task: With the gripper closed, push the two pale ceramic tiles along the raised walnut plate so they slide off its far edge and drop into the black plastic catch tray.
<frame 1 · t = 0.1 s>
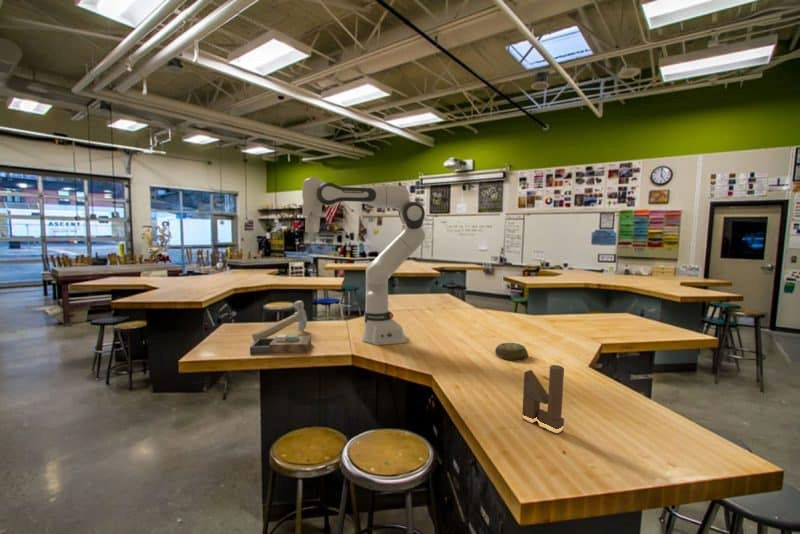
hand: (312, 242, 178), 48 cm above the workbench, fingers open, 8 cm apart
brown letter n: (542, 425, 105), on the workbench
catch tray: (263, 349, 168), on the workbench
tile rear: (293, 340, 169), point 4 cm above the workbench, touching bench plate
tile front: (281, 340, 169), point 4 cm above the workbench, touching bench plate
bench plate: (291, 348, 169), on the workbench
weight: (511, 357, 163), on the workbench
hammer: (281, 336, 189), on the workbench
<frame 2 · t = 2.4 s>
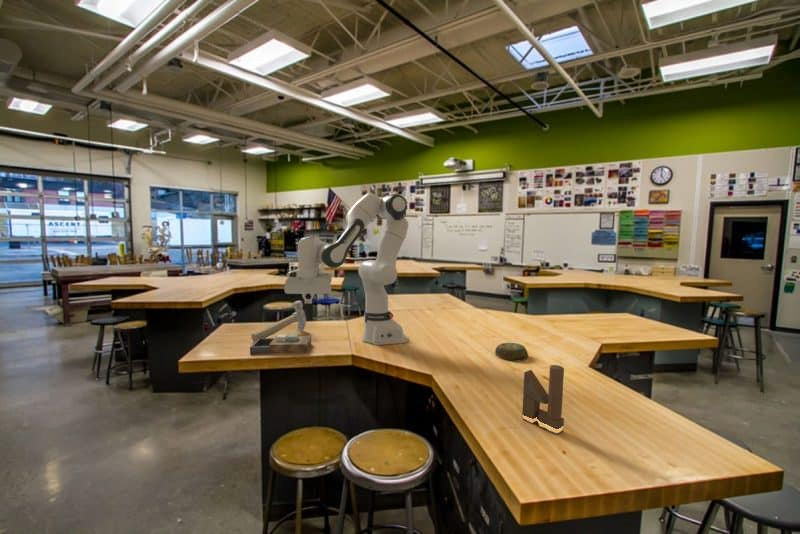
hand: (308, 303, 168), 21 cm above the workbench, fingers closed
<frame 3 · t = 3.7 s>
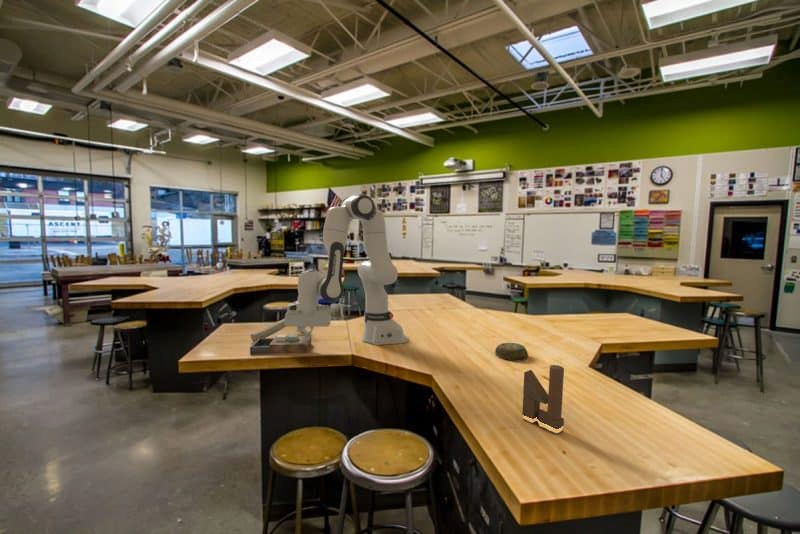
hand: (307, 335, 169), 6 cm above the workbench, fingers closed
nothing on the workbench moved.
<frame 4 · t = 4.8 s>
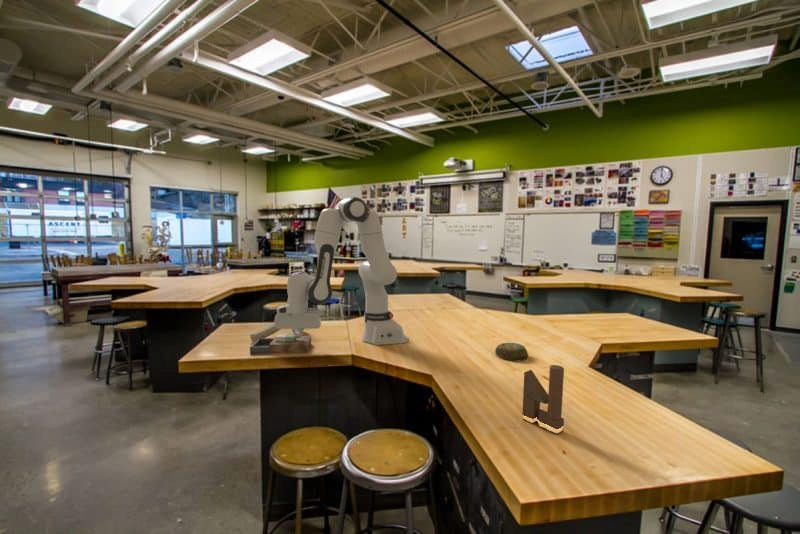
hand: (298, 337, 169), 5 cm above the workbench, fingers closed
tile rear: (290, 340, 169), point 4 cm above the workbench, touching gripper, tile front
tile front: (281, 340, 169), point 4 cm above the workbench, touching tile rear
everything else where it was.
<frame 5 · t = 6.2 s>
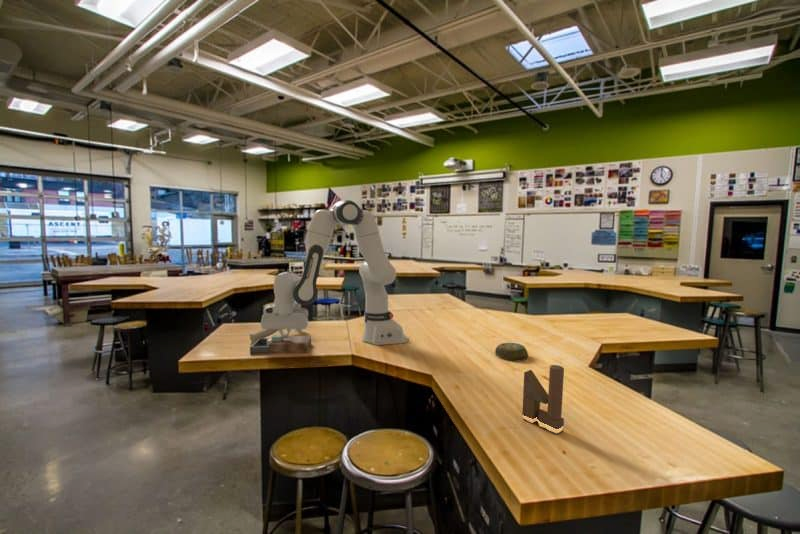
hand: (285, 338, 169), 5 cm above the workbench, fingers closed
tile rear: (277, 340, 168), point 4 cm above the workbench, touching gripper
tile front: (272, 343, 168), point 2 cm above the workbench, tilted 90°, touching catch tray
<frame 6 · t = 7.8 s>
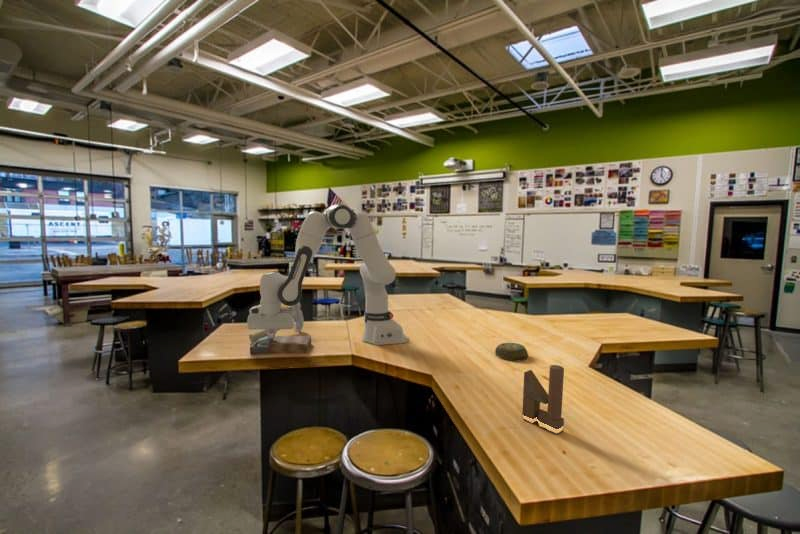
hand: (271, 338, 168), 5 cm above the workbench, fingers closed
tile rear: (264, 342, 168), point 3 cm above the workbench, tilted 15°, touching gripper, tile front
tile front: (263, 343, 168), point 2 cm above the workbench, tilted 180°, touching catch tray, tile rear
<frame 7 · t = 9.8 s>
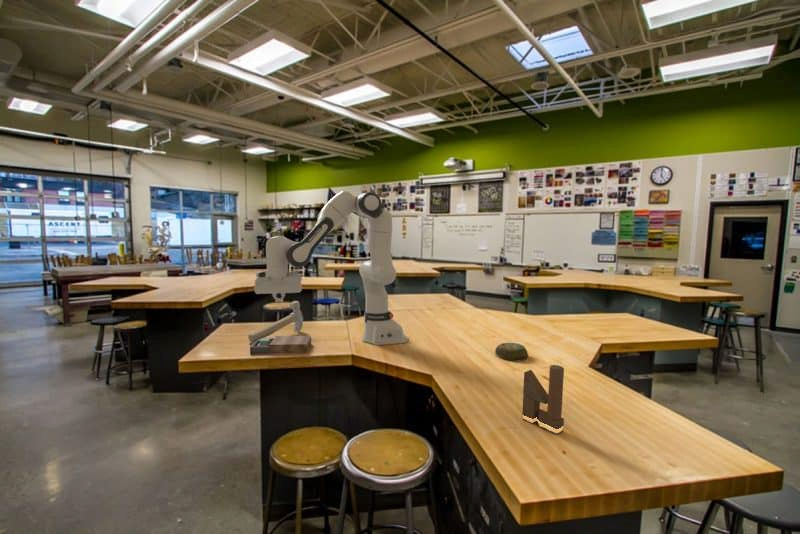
hand: (279, 302, 168), 21 cm above the workbench, fingers closed
tile rear: (265, 343, 168), point 2 cm above the workbench, touching tile front
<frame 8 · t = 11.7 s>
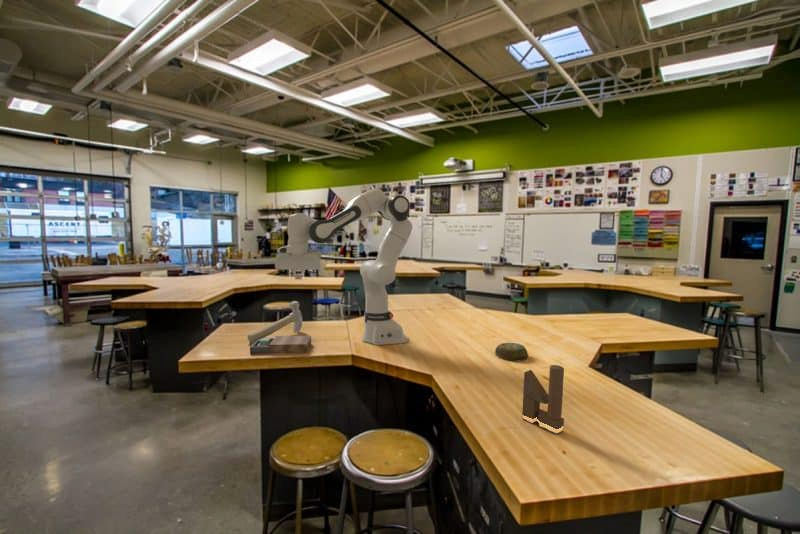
hand: (298, 279, 171), 31 cm above the workbench, fingers closed
at the end: tile front inside the target area (0.0 cm from its centre), point 2.4 cm above the workbench; tile rear inside the target area (0.8 cm from its centre), point 2.4 cm above the workbench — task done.
